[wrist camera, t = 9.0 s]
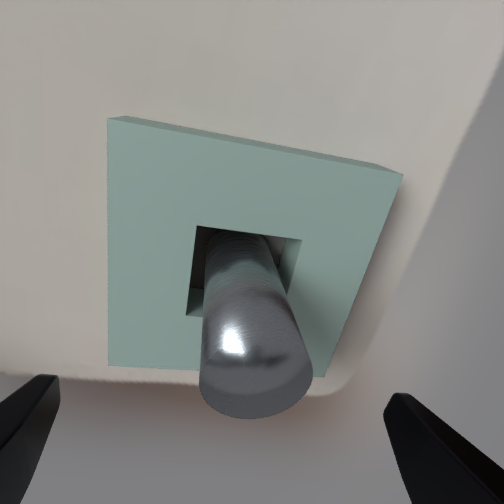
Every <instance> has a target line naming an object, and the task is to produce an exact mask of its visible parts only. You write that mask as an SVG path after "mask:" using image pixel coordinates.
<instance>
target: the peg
mask: <svg viewBox="0 0 504 504" xmlns="http://www.w3.org/2000/svg"><path fill="white" fill-rule="evenodd" d="M312 378H313V367H312V363H311V360H310V357H309V355H308V352H307V349H306V347H305V344H304V341H303V339H302V336H301V333H300V330H299V328H298V325H297V322H296V320H295V317H294V314H293V312H292V309H291V306H290V304H289V301H288V298H287V295H286V293H285V290H284V287H283V285H282V282H281V279H280V277H279V274H278V271H277V269H276V266H275V263H274V260H273V258H272V255H271V252H270V250H269V247H268V244H267V242H266V240H265V238H264V237H263V235H262V234H256V233H249V232H242V231H234V230H227V229H221V230H219V231H218V232H217V233H215V234H214V235H213V237H212V238H211V239H210V241H209V243H208V246H207V249H206V265H205V284H204V302H203V321H202V339H201V358H200V376H199V387H200V391H201V394H202V396H203V398H204V400H205V401H206V402H207V404H209V405H210V406H211V407H212V408H213V409H215V410H216V411H218V412H220V413H222V414H224V415H227V416H230V417H235V418H241V419H256V418H264V417H268V416H272V415H275V414H277V413H280V412H282V411H284V410H286V409H288V408H290V407H291V406H293V405H294V404H295V403H297V402H298V401H299V400H300V399H301V398H302V397H303V396H304V395H305V393H306V392H307V390H308V389H309V387H310V385H311V382H312Z"/></svg>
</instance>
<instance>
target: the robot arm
mask: <svg viewBox="0 0 504 504" xmlns="http://www.w3.org/2000/svg"><path fill="white" fill-rule="evenodd" d="M59 405H60V387H59V378H58V376H57V375H49V374H39V375H37V376H35V377H34V378H32V379H31V380H30V381H28V382H27V383H26V384H24V385H23V386H22V387H20V388H19V389H18V390H16V391H15V392H14V393H12V394H11V395H10V396H8V397H7V398H6V399H5V400H3V401H2V402H0V504H20V503H21V501H22V499H23V497H24V494H25V492H26V490H27V488H28V486H29V484H30V481H31V479H32V477H33V474H34V472H35V469H36V467H37V464H38V462H39V459H40V456H41V454H42V451H43V448H44V446H45V443H46V440H47V438H48V435H49V433H50V430H51V427H52V424H53V422H54V419H55V417H56V414H57V411H58V409H59ZM383 417H384V422H385V425H386V429H387V432H388V435H389V438H390V442H391V445H392V448H393V451H394V455H395V457H396V461H397V464H398V467H399V470H400V473H401V476H402V479H403V482H404V484H405V487H406V490H407V492H408V494H409V497H410V500H411V502H412V504H504V469H502V468H501V467H500V466H499V465H497V464H496V463H495V462H494V461H492V460H491V459H490V458H489V457H487V456H486V455H485V454H484V453H482V452H481V451H480V450H479V449H477V448H476V447H475V446H474V445H472V444H471V443H470V442H469V441H467V440H466V439H465V438H464V437H462V436H461V435H460V434H459V433H458V432H456V431H455V430H454V429H452V428H451V427H450V426H449V425H448V424H446V423H445V422H444V421H443V420H441V419H440V418H439V417H438V416H436V415H435V414H434V413H433V412H431V411H430V410H429V409H428V408H426V407H425V406H424V405H423V404H421V403H420V402H419V401H418V400H416V399H415V398H414V397H413V396H411V395H410V394H407V393H395V394H393V395H392V397H391V399H390V401H389V402H388V404H387V406H386V408H385V410H384V413H383Z"/></svg>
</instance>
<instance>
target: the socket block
mask: <svg viewBox="0 0 504 504" xmlns="http://www.w3.org/2000/svg"><path fill="white" fill-rule="evenodd" d="M402 177H403V174H400V173H398V172H395V171H393V170H390V169H387V168H385V167H382V166H379V165H377V164H373V163H368V162H363V161H357V160H352V159H347V158H342V157H337V156H332V155H326V154H321V153H316V152H311V151H306V150H300V149H295V148H290V147H285V146H280V145H275V144H269V143H264V142H259V141H254V140H249V139H243V138H238V137H233V136H228V135H223V134H218V133H212V132H207V131H202V130H197V129H192V128H186V127H181V126H176V125H171V124H166V123H161V122H155V121H150V120H145V119H140V118H135V117H130V116H120V117H113V118H107V209H108V366H121V367H140V368H159V369H178V370H197V371H200V358H201V339H202V321H203V302H204V289H197V288H189V286H190V278H191V270H192V262H193V254H194V246H195V238H196V229H197V225H198V226H205V227H212V228H220V229H227V230H234V231H242V232H249V233H256V234H263V235H271V236H278V237H285V238H286V239H285V243H284V247H283V251H282V255H281V259H280V263H279V266H278V270H277V271H278V274H279V277H280V279H281V282H282V285H283V287H284V290H285V293H286V295H287V298H288V301H289V304H290V306H291V309H292V312H293V314H294V317H295V320H296V322H297V325H298V328H299V330H300V333H301V336H302V339H303V341H304V344H305V347H306V349H307V352H308V355H309V357H310V360H311V363H312V367H313V377H324V376H325V374H326V371H327V368H328V366H329V363H330V361H331V358H332V356H333V353H334V351H335V348H336V346H337V343H338V340H339V338H340V335H341V333H342V330H343V328H344V325H345V323H346V320H347V317H348V315H349V312H350V310H351V307H352V305H353V302H354V300H355V297H356V294H357V292H358V289H359V287H360V284H361V282H362V279H363V277H364V274H365V272H366V269H367V266H368V264H369V261H370V259H371V256H372V254H373V251H374V249H375V246H376V243H377V241H378V238H379V236H380V233H381V231H382V228H383V226H384V223H385V221H386V218H387V215H388V213H389V210H390V208H391V205H392V203H393V200H394V198H395V195H396V192H397V190H398V187H399V185H400V182H401V180H402Z"/></svg>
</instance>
